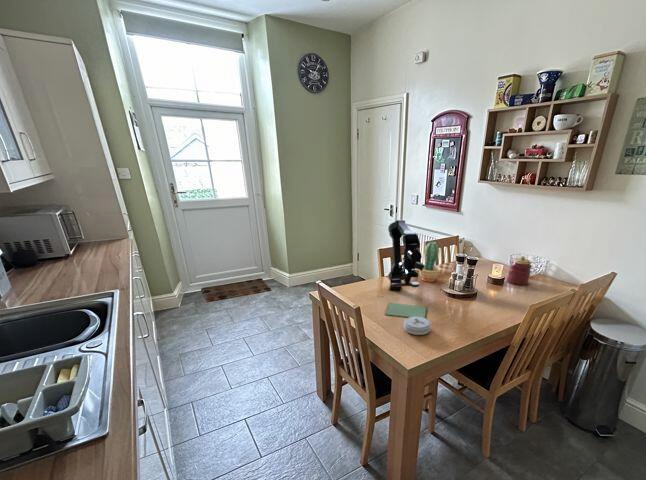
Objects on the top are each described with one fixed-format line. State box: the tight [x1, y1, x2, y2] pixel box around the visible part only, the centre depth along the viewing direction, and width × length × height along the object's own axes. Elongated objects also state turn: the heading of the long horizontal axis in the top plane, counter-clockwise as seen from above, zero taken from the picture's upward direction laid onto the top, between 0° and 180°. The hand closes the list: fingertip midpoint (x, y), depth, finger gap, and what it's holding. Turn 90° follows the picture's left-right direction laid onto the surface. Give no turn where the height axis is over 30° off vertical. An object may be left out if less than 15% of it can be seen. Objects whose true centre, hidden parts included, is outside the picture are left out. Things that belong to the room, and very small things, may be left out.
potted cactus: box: [417, 241, 442, 283], centre depth 213 cm, size 15×15×25 cm
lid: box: [403, 316, 432, 336], centre depth 153 cm, size 13×13×5 cm
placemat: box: [385, 302, 427, 319], centre depth 173 cm, size 20×14×1 cm
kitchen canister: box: [506, 255, 533, 286], centre depth 214 cm, size 13×13×18 cm
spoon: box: [391, 281, 420, 288], centre depth 180 cm, size 16×5×2 cm, turn 98°
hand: (407, 284), depth 180 cm, fingers closed on spoon, 2 cm apart
